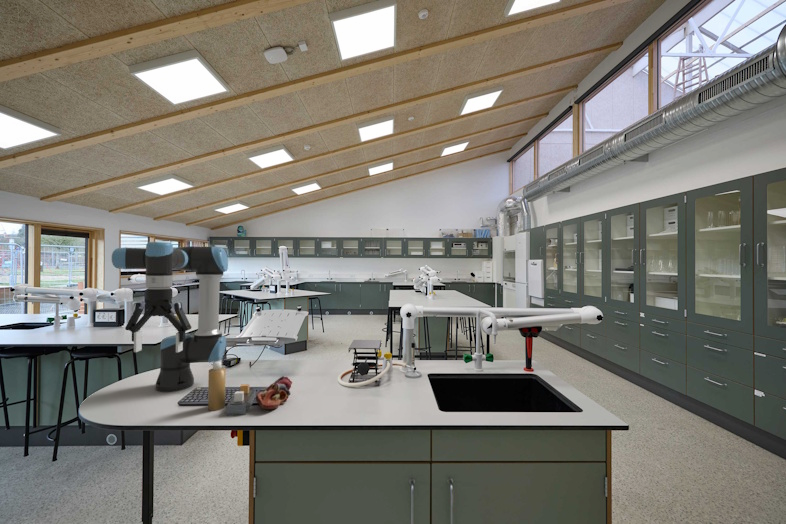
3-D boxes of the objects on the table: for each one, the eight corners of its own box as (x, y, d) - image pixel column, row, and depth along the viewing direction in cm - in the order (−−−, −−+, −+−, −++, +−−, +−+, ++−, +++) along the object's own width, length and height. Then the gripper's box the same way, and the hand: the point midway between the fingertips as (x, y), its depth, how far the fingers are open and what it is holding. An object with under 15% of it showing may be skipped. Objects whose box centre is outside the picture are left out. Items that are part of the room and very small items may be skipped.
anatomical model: (250, 398, 133) (276, 365, 141) (254, 403, 144) (278, 372, 152) (273, 415, 132) (298, 380, 140) (275, 418, 143) (298, 386, 151)
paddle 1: (235, 399, 136) (235, 391, 136) (243, 399, 137) (243, 391, 137) (234, 401, 134) (234, 393, 134) (242, 401, 135) (242, 393, 135)
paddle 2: (241, 392, 144) (241, 384, 144) (249, 391, 145) (249, 384, 145) (240, 393, 142) (240, 386, 142) (247, 393, 143) (247, 385, 143)
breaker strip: (242, 393, 153) (242, 384, 153) (259, 392, 154) (259, 384, 154) (226, 415, 131) (226, 405, 131) (245, 414, 132) (245, 404, 132)
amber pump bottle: (211, 404, 141) (211, 360, 141) (227, 404, 142) (227, 359, 142) (205, 411, 135) (206, 364, 135) (222, 410, 136) (222, 364, 136)
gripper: (112, 288, 112) (111, 354, 113) (191, 289, 113) (190, 354, 113) (129, 286, 120) (128, 348, 120) (202, 287, 121) (202, 348, 121)
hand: (158, 351), depth 117 cm, fingers open, 13 cm apart
